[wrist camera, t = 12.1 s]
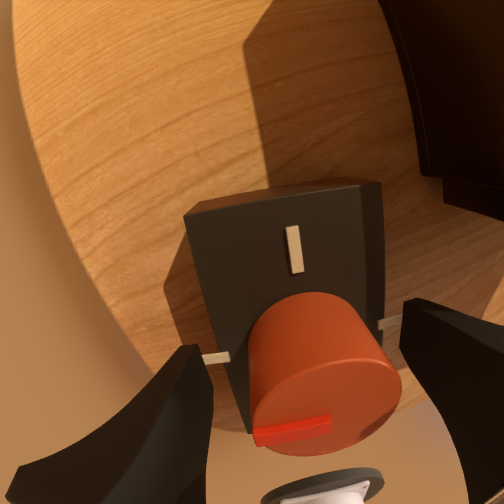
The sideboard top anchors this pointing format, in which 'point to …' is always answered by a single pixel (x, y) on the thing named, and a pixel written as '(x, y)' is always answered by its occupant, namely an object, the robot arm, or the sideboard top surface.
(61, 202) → the sideboard top surface
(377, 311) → the timer panel
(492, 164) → the black box
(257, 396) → the timer knob
